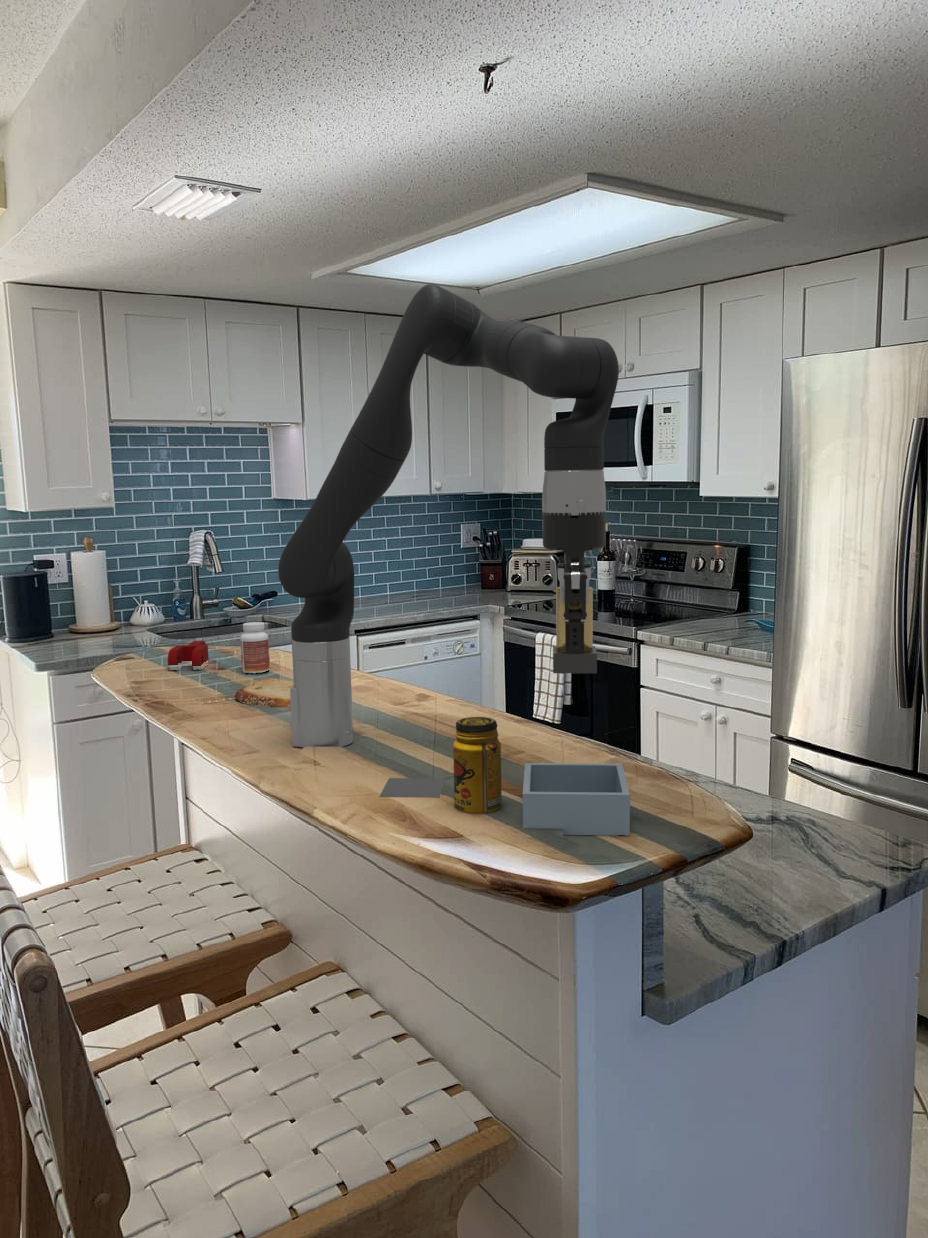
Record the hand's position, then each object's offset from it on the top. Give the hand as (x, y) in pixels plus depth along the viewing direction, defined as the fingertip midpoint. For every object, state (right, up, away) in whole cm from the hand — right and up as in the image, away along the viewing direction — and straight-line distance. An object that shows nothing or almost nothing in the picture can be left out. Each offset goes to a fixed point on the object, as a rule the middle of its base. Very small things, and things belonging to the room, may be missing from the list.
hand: (574, 649), depth 119 cm
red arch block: (-77, -8, +109) cm, 134 cm away
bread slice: (-48, -13, +72) cm, 88 cm away
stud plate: (-20, -20, +13) cm, 31 cm away
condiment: (-11, -21, +6) cm, 25 cm away
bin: (0, -21, +3) cm, 21 cm away
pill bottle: (-60, -8, +99) cm, 116 cm away
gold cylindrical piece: (0, -2, 0) cm, 2 cm away
